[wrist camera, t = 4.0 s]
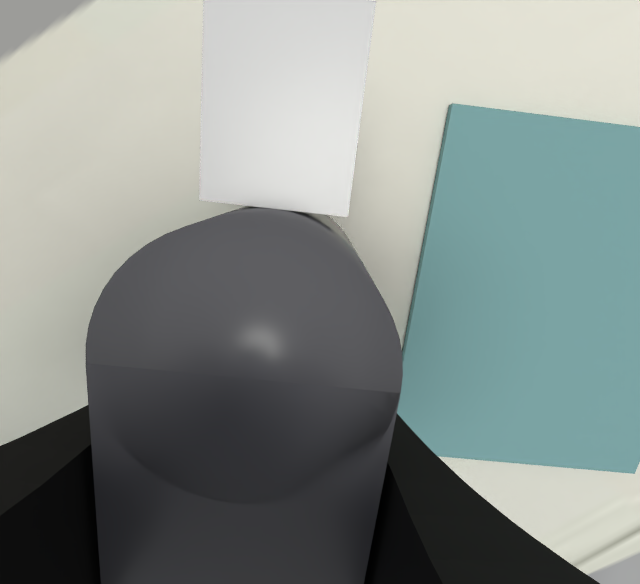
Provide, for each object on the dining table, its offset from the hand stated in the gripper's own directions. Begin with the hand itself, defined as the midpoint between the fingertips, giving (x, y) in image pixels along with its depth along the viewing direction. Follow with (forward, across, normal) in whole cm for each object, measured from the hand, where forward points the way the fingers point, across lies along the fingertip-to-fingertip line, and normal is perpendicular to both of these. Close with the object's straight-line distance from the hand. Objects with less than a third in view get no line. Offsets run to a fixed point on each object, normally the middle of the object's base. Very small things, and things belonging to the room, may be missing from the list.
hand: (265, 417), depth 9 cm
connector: (+2, 0, -2) cm, 2 cm away
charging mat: (+8, -12, -1) cm, 15 cm away
